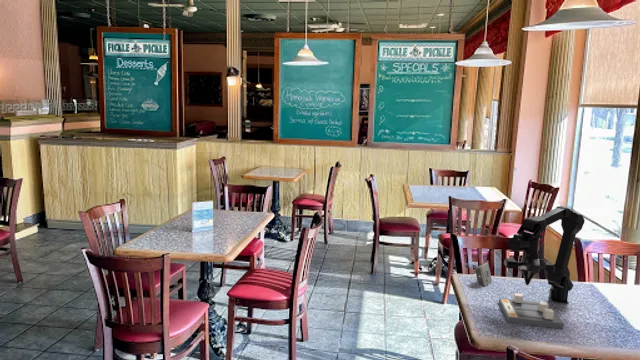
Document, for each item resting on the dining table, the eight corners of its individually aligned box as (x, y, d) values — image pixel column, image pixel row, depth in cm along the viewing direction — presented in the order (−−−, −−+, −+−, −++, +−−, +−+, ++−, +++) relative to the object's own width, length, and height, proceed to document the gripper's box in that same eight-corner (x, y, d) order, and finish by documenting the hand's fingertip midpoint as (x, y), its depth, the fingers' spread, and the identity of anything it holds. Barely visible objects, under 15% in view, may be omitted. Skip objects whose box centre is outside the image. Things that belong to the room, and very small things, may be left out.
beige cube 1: (520, 300, 198) (521, 293, 197) (522, 303, 195) (523, 296, 194) (513, 299, 198) (514, 293, 198) (515, 302, 195) (515, 295, 195)
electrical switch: (485, 286, 220) (485, 267, 219) (474, 285, 223) (474, 265, 222) (492, 281, 227) (491, 263, 226) (481, 280, 230) (481, 261, 230)
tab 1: (545, 309, 190) (546, 302, 189) (547, 312, 187) (548, 305, 186) (537, 308, 190) (538, 301, 190) (539, 311, 187) (540, 304, 187)
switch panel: (548, 307, 198) (548, 302, 197) (563, 328, 178) (563, 322, 178) (498, 302, 201) (499, 297, 201) (508, 322, 182) (508, 317, 181)
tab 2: (550, 316, 183) (551, 309, 182) (553, 319, 180) (553, 312, 179) (542, 315, 183) (543, 308, 183) (544, 318, 180) (545, 311, 180)
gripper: (511, 252, 187) (507, 289, 189) (561, 256, 183) (556, 294, 185) (505, 244, 197) (502, 280, 200) (552, 248, 194) (548, 284, 196)
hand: (527, 284), depth 195 cm, fingers closed
